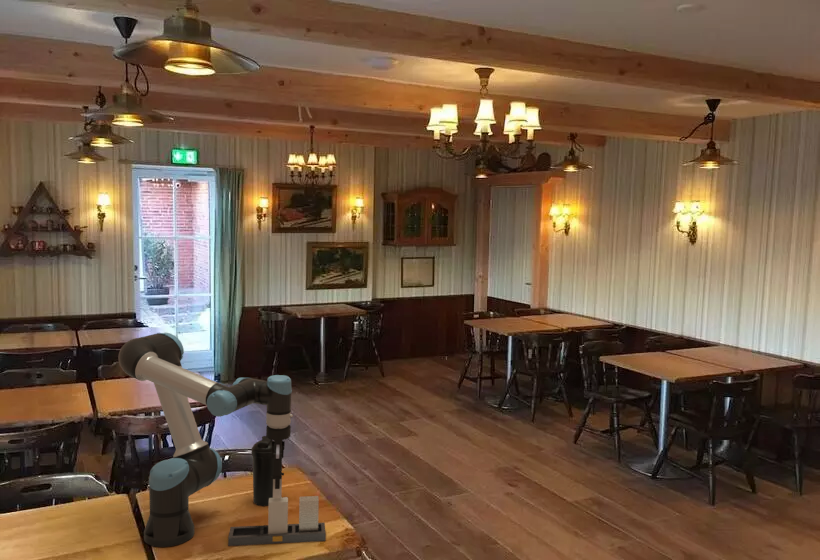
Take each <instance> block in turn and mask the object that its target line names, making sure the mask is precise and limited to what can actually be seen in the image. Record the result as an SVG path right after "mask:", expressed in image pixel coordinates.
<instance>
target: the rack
mask: <svg viewBox="0 0 820 560" xmlns="http://www.w3.org/2000/svg"><path fill="white" fill-rule="evenodd" d="M319 501H320V500H319V495H314V496H313V495H311V496H299V505H298V508H299V511H298V512H299V514H298V516H299V517H298V523H288V533H283V534H268V524H265V525H246V526H245V525H243V526H230V528H229V532H228V537H227V538H228V539H227V540H228V541H227V545H228V547H236V546H253V545H255V546H257V545H274V544H291V543H314V542H326V537H327V535H326V533H327V532H326V523H325V521H324V522H319V504H320V503H319Z"/></svg>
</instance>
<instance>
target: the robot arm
mask: <svg viewBox="0 0 820 560" xmlns="http://www.w3.org/2000/svg"><path fill="white" fill-rule="evenodd" d="M184 351H185V350H184V345H183V343H182V342H181V340H180V338H178V337H177V336H176V335H174V334H172V333H171V332H170V333H169V332H157V333H154V334H149V335H144V336H140V337H135V338H132V339H130V340H128V341H126V342H125V343H124V344H123V345H122V346H121V348H120V350H119V353H118V364H119V367H120V368H121V369H122V371H123V372H124V373H125V374H126V375H128V376H130V377H131V378H134V379H136V380H138V381H141V382H145V381H148V382H151V383H153V385H154V388H155V391H156V394H157V396H158V400H159V403H160V406H161V409H162V411H163V415H164V418H165V421H166V424H167V426H168V430H169V433H170V435H171V438H172V439H171V440H172V441H173V444H174V447H175V452H174V453H173V456H172V457H173V458H169V459H164V460H161V461H158V462H157V463H155V464H154V465H153V466H152V467H151V469H150V471H149V479H148V486H149V488H148V490H149V493H148V494H149V496H148V497H149V499H148V500H149V515H148V519H147V522H146V523H145V527H144V531H143V541H144V543H146V544H147V545H149V546H151V547H158V548H167V547H174V546H179V545H181V544H184V543H186V542H188V541H189V540H191V539H192V538H193V537H194V535H195V524H194V521H193V519H192V516H191V513H190V510H189V503H190V502H189V497H190V496H191V495H193V494H196V493H197V492H199V491H200V490H202V489H204V488H206V487H209V486H210V485H211V484H212V483H214V482H216V480H218V478H219V477H220V475H221V473H222V469H223V464H222V463H223V462H222V458H221V455H220V453H219V452H218V451H216V450H215V449H214V448H213V447H210V445H209V443H208V441H205V440H203V439H202V437H201V433H200V431H199V428H198V425H197V422H196V419H195V415H194V413H193V411H192V407H191V404H190V402H189V399H191V400H193V401H196V402H198V403H200V404H203V405H205V406H206V407H207V410H208V411H209V412H210V414H211V415H213V416H215V417H217V418H218V417H223V416H228V415H230V414H232V413H234V412H236V411H238V410H242V409H243V408H245V407H247V406H250V405H253V404H254V405H255V404H256V405H263V406H266V414H265V415H266V417H265V418H266V419H265V421H266V433H265V436H266V437H267V438H268V439H270V440H273V442H272V458H273V459H274V472H273V476H271V479H273V498H281V497H282V490H283V489H282V488H283V476H285V473H284V472H282V471H283V458H284V453H285V451H284V450H285V444H286V443H285V440H288V439H290V438H291V431H292V430H291V429H292V426H291V425H290V424H292V423H291V420H292V419H291V418H293V416H294V415H293V414H292V392H293V390H292V389H293V388H292V378H290V377H289V376H288V375H285V374H283V375H279V374H275V375H270V376H269V377H267V380H263V379H256V378H252V377H238V378H237V379H236V380H235V381H233V383H232V385H231V386H227V385H224V384H222V383H219V382H218V381H214V380H212V379H210V378H207V377H205V376H203V375H201V374H198V373H195V372H193V371H191V370H188V369H186V368H183V366H182V363H181V361H182V360H183V358H184V356H183V355H184V353H185V352H184Z"/></svg>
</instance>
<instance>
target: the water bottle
mask: <svg viewBox="0 0 820 560" xmlns="http://www.w3.org/2000/svg"><path fill="white" fill-rule="evenodd" d="M273 441H274V440H270V439H268V438H267V437H266V435H263V436H262V437H261V440H258V441H256V442H255V443H254V444H253V446H252V447H251V457H252V488H253V493H252V494H253V496H252V497H253V504H255V505H256V506H259V507H268V506H269V498H273V479H271V476H273V472H274V459H273V458H272V442H273Z"/></svg>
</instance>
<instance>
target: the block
mask: <svg viewBox="0 0 820 560" xmlns="http://www.w3.org/2000/svg"><path fill="white" fill-rule="evenodd" d="M267 507H268V510H267V511H268V516H267V517H268V518H267V520H268V521H267V525H268V534H283V533H288V524H289V518H288V517H289V515H288V514H289V497H287V496H284V497H281V498H269V506H267Z"/></svg>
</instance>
